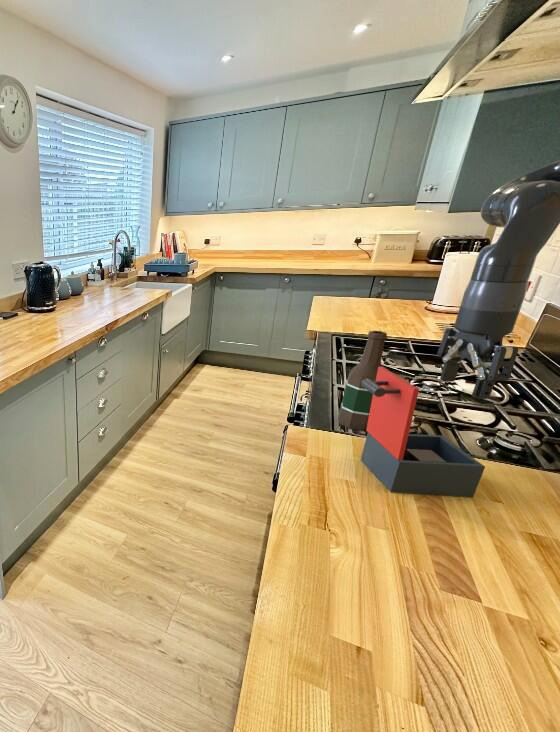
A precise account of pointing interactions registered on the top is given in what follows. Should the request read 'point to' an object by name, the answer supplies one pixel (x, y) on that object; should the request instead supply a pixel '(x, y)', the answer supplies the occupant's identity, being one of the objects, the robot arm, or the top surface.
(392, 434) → the lid
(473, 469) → the food box
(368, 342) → the beer bottle
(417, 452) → the block
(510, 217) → the robot arm
